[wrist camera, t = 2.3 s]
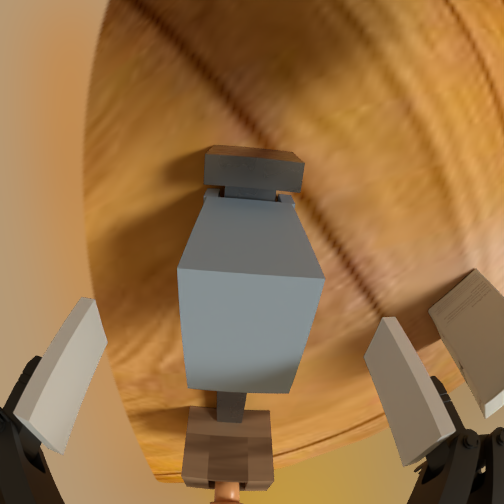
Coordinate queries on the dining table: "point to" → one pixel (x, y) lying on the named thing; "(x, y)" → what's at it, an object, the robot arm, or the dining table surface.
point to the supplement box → (475, 337)
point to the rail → (254, 188)
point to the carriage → (246, 295)
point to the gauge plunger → (226, 493)
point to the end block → (228, 450)
